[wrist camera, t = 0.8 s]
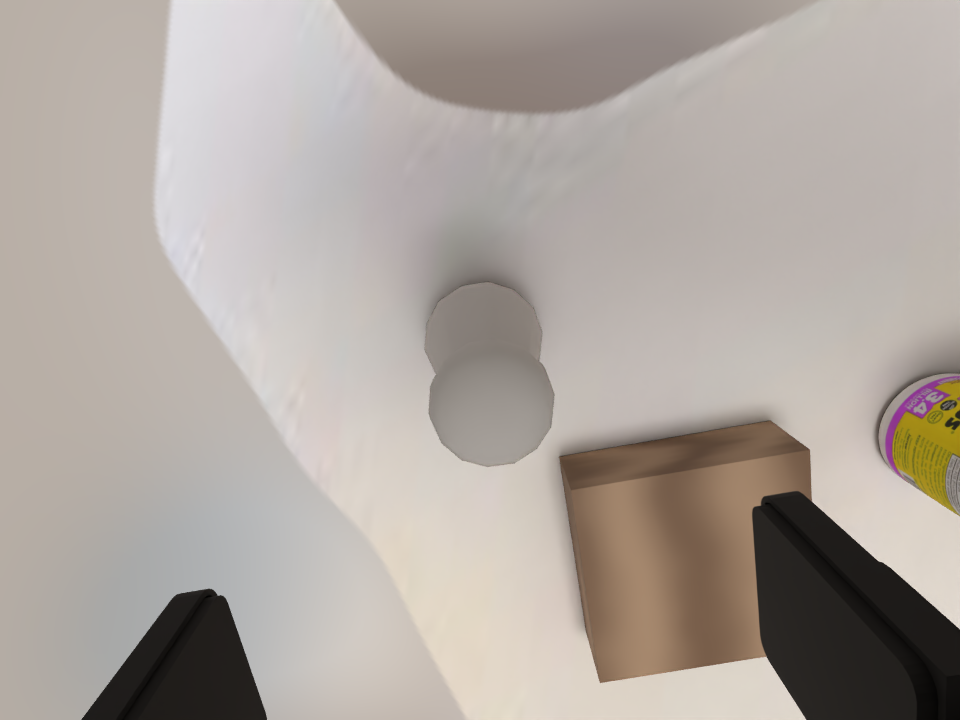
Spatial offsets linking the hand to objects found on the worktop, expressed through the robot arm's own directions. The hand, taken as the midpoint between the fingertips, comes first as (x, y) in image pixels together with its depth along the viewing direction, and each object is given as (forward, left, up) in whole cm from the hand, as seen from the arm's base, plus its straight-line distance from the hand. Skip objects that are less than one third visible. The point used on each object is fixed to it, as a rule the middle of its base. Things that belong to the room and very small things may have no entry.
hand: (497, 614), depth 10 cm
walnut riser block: (-9, +14, -22) cm, 28 cm away
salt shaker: (0, 0, -22) cm, 22 cm away
